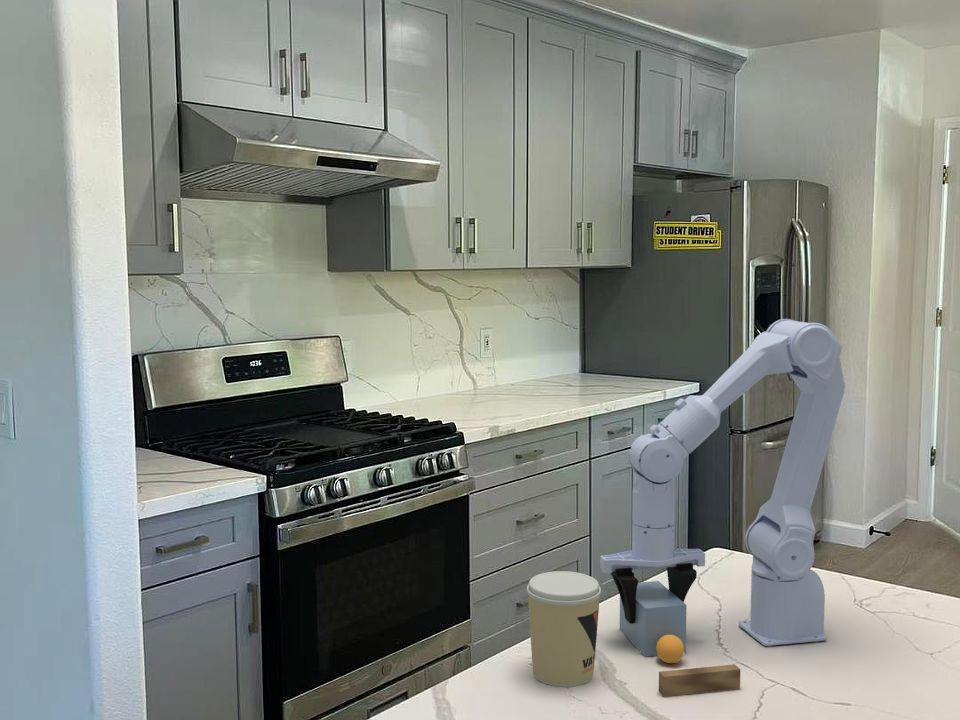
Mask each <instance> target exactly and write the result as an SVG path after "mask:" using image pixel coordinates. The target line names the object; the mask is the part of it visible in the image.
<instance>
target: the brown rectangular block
mask: <svg viewBox="0 0 960 720" xmlns="http://www.w3.org/2000/svg"><path fill="white" fill-rule="evenodd" d="M740 689H741V668H740V667H738V666H737V665H736V664H735V663H734V664H733V663H732V664H725V665H724V664H723V665H714V666H705V667H703V666H701V667H693V668H692V667H691V668H683V669H673V670H663V671H658V692H659V694H660V695H661V696H662V697H663V698H665V697H666V698H667V697H674V696H675V697H676V696H684V695H693V694H704V693H713V691H714V692H723V691H724V690H725V691H734V690H740Z"/></svg>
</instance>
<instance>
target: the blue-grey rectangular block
mask: <svg viewBox="0 0 960 720" xmlns="http://www.w3.org/2000/svg"><path fill="white" fill-rule="evenodd" d="M635 608H636V618H635V623H634V624H630V623H629V622H628V621H627V620H626V619H625V614H624V608H623V604H622V600H621V597H620V596H619V630H620V631H621V632H622V633H623V635H624V636H626V637H627V639H628V640H629V641H630V642H631V643H632V644H633V646H635V647H636V648H637V650H639V652H640V653H641V654H642V655H643V656H644V657H653V656H658V654H657V650H656V646H657V642H658V641H659V639H660V638H661V637H663V636H665V635H674V636H677V637H678V638H679V639H680V640H681V641H682V643H683V645H684V654H685V653H687V604H686V603H685V601H684V602H682V601H681V600H680V599H679V598H678V597H677V596H675V595H674V594H673V593H672V592H671V591H670V590H669V588H667V587H666V586H665V585H663V583H662V582H661V581H659V580H653V581H642V582H641V581H640V582H639V581H638V586H637V591H636V600H635Z"/></svg>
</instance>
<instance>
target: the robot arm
mask: <svg viewBox="0 0 960 720" xmlns="http://www.w3.org/2000/svg"><path fill="white" fill-rule="evenodd" d="M842 349H843V345H842V343H841V342H840V341H839V340H838V338H837V337H836V335H835V334H834V333H833V331H832V330H831V329H830V328H829V327H828V326H826V325H824V324H822V323H819V322H806V321H805V322H804V321H797V320H794V319H791V318H781V319H778V320H775V321H774V322H773V323H771V324H770V325H769V326H768V328H767V329H766V331H763V332H761V333H760V334H758V335H757V336H756V337H755V338H754V340H753V342H752V343H751V344H750V346H748V348H747V349H746V350H745V351H744V352H743V353H742V354H741V355H740V356H739V357H738V358H737V359H736V360H735V361H734V362H733V363H732V364H731V365H730V366H729V367H728V369H727V370H725V372H724V373H723V374H722V375H721V376H719V377H718V379H717V380H716V381H715V382H714V383H713V384H712V385H711V386H710V387H709V388H708V389H707V390H706V391H705V392H704V393H703V394H701V395H694V394H693V395H689V396H687V397H686V398H679V399H677V400H676V401H675V402H674V406H675V408H674V409H673V410H672V411H671V412H670V413H669V414H668V415H667V416H666V417H665V418H663V419H662V421H660V422H659V423H658V424H657V425H656V424H653V425H652V426H650V427H649V430H650V432H651V433H647V434H642V435H640V436H638V437H636V439H635V440H633V441H632V444H631V445H630V449H629V452H626V457H627V463H628V464H629V465H630V467H631V468H632V470H633V472H632V475H633V477H632V480H633V481H632V484H633V486H632V492H631V493H632V499H631V500H632V501H631V502H632V503H631V504H632V509H631V510H632V512H631V513H632V514H631V515H632V516H631V517H632V518H631V519H632V521H631V525H632V526H631V527H632V528H631V549H630V550H626V551H622V552H618V553H612V554H611V553H610V554H606V555H600V559H599V561H600V562H599V563H600V565H599V566H600V567H599V568H600V571H601V572H602V573H604V574H605V575H607V574H610V576H611V577H612V579H613V582H614V583H615V586H616V588H617V591H618V594H619V598H620V597H621V600H622V604H623V608H624V614H625V619H626V620H627V621H628V622H629V623H630V624H634V623H635V618H636V608H635V600H636V591H637V586H638V583H639V580H638V579H637V577H635V573H634V572H633V571H635V570H636V571H637V570H639V571H640V570H649V569H651V570H652V569H664V568H666V573H667V582H668V590H670V591H671V592H672V593H673V594H674V595H675V596H677V597H678V598H679V599H680V600H681V601H682V602H684V603H685V599H686V597H687V594H688V593H689V590H690V588H691V587H692V585H693V584H694V582H695V581H696V579H697V573H698V572H697V570H696V569H695V568H694V566H696V567H706V552H705V551H703V550H702V549H700V548H675V532H676V531H675V529H676V528H675V527H676V526H675V525H676V524H675V521H676V519H675V516H676V509H675V508H676V490H675V489H676V488H675V487H676V486H675V485H676V484H675V483H676V477H677V476H679V475H680V473H681V471H682V470H683V464H684V459H685V458H687V457H688V456H689V455H690V454H692V452H694V451H695V450H696V448H698V447H699V446H700V445H701V444H702V443H704V441H705V440H706V439H707V438H708V437H710V435H711V434H713V433H714V432H715V431H716V430H717V429H718V428H719V427H720V424H721V415H722V413H723V411H725V410H726V409H727V408H728V407H730V405H732V404H733V403H734V402H735V401H736V400H738V399H739V398H740V397H742V395H744V394H745V393H746V392H747V391H748V390H750V389H751V388H752V387H754V386H755V385H756V384H758V382H759V381H760V380H762V379H763V378H764V377H765V376H769V375H777V374H784V373H787V374H788V375H789V376H790V377H791V378H792V380H793V382H794V383H795V385H796V386H797V388H798V390H799V391H800V395H799V396H798V397H799V398H798V401H797V405H796V408H795V412H794V415H793V418H792V421H791V422H792V423H791V426H790V429H789V432H788V436H787V440H786V444H785V447H784V451H783V454H782V458H781V462H780V465H779V469H778V470H777V471H778V472H777V475H776V479H775V482H774V486H773V489H772V491H771V492H772V493H771V495H770V498H769V499H768V500H767V501H766V502H765V503H763V504H762V505H761V506H760V508H759V509H758V513H757V516H756V518H755V519H754V521H753V522H752V523H751V524H749V526H748V528H747V530H746V531H745V536H744V544H745V546H746V549H747V551H748V553H749V555H751V556H752V563H751V575H750V577H751V578H750V581H751V582H750V584H751V585H750V613H749V614H750V619H749V620H742V621H738V624H737V625H738V626H739V628H742V629H743V630H744V631H745V632H746V633H748V634H749V635H750V636H751V637H752V638H753V639H755V640H756V641H758V643H760V644H762V645H763V646H765V647H768V646H769V647H770V646H778V645H789V644H799V643H811V642H821V641H822V642H823V641H826V640H827V636H826V635H825V634H824V631H825V630H824V629H825V628H824V626H825V602H826V600H825V599H826V598H825V597H826V596H825V595H826V594H825V589H824V588H825V587H824V584H823V582H822V581H823V580H822V579H821V577H820V576H819V573H817V572H816V571H815V570H812V568H813V565H814V562H815V558H816V556H815V555H816V554H815V553H816V552H815V548H814V539H815V535H816V526H815V524H814V521H813V518H812V517H813V516H812V513H811V508H812V505H813V502H814V498H815V495H816V491H817V489H818V484H819V481H820V477H821V473H822V470H823V467H824V463H825V459H826V456H827V453H828V449H829V445H830V442H831V440H832V435H833V432H834V429H835V425H836V421H837V417H838V414H839V412H840V407H841V404H842V400H843V397H844V393H845V388H846V387H845V386H846V384H845V379H844V373H843V368H842V363H841V358H840V357H841V353H842Z"/></svg>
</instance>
